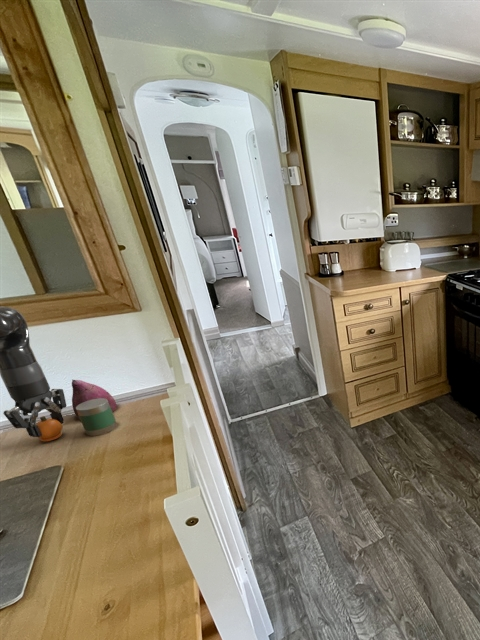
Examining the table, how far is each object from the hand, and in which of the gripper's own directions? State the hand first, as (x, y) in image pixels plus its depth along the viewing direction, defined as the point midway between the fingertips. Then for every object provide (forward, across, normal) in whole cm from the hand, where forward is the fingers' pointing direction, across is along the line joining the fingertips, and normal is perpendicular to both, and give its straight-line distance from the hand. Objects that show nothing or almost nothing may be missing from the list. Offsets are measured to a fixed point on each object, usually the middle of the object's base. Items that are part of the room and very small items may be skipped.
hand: (48, 429), depth 110 cm
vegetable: (+3, -15, 0) cm, 15 cm away
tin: (+3, -5, +10) cm, 12 cm away
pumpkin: (+3, 0, 0) cm, 3 cm away
